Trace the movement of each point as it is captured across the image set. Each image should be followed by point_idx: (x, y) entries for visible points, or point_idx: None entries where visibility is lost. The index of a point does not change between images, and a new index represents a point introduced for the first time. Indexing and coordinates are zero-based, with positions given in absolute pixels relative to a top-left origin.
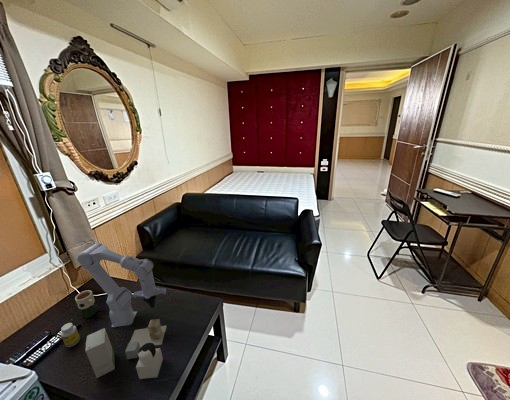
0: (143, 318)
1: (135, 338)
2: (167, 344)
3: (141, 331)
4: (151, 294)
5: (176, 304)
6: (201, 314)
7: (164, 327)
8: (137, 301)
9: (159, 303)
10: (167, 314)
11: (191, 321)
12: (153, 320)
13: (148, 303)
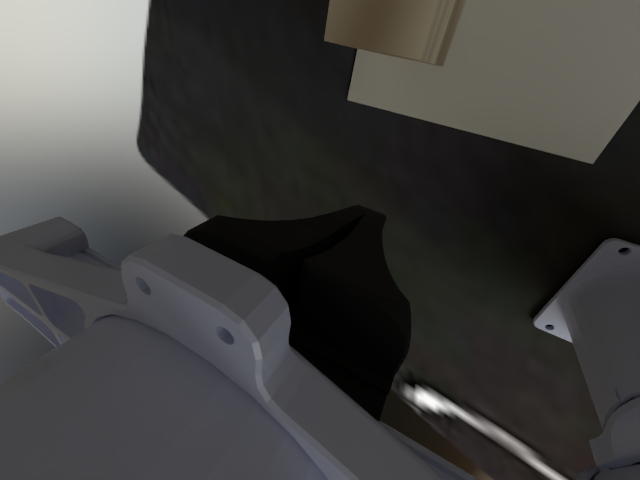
0: (497, 245)
1: (619, 52)
2: None
3: (540, 119)
4: (108, 322)
5: None
6: (181, 104)
7: (361, 85)
8: (510, 391)
9: None
10: (344, 195)
11: (218, 72)
12: (385, 36)
13: (374, 246)
